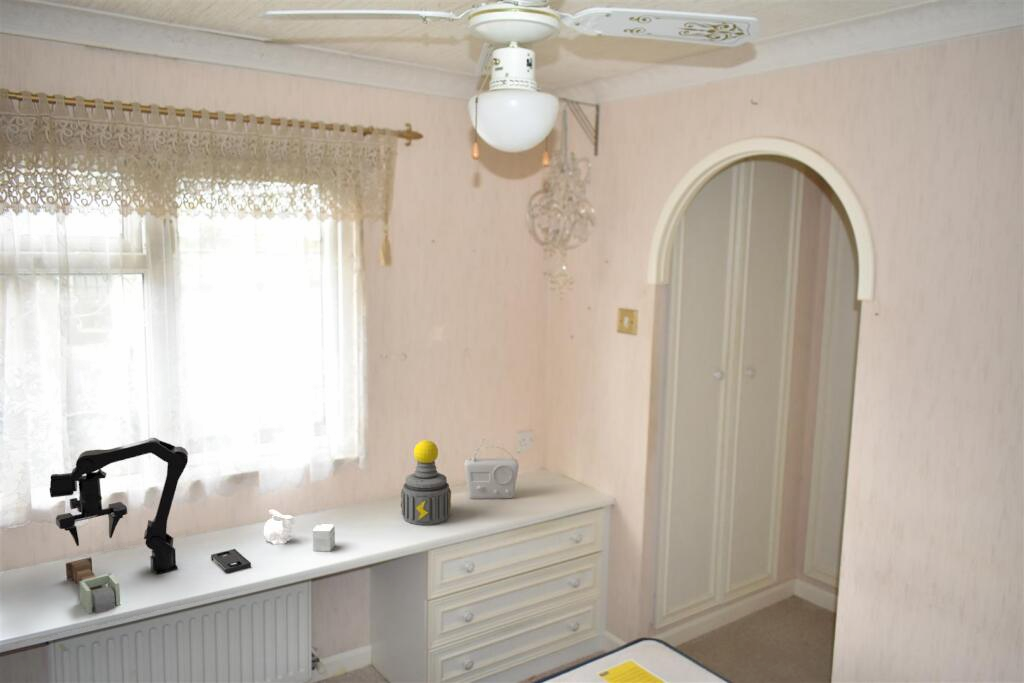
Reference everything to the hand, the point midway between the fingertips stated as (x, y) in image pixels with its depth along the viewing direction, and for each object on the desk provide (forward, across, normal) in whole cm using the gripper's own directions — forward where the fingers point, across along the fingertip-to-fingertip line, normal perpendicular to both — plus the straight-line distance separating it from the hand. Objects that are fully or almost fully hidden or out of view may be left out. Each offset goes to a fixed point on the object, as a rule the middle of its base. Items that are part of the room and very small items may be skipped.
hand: (94, 541), depth 243 cm
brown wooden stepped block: (+11, +4, +6) cm, 13 cm away
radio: (+15, -143, +20) cm, 145 cm away
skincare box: (+13, -65, +24) cm, 70 cm away
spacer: (+9, +4, +20) cm, 22 cm away
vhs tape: (+13, -36, +16) cm, 41 cm away
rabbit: (+13, -56, +8) cm, 58 cm away
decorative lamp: (+14, -109, +22) cm, 112 cm away
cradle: (+12, +4, +18) cm, 22 cm away
